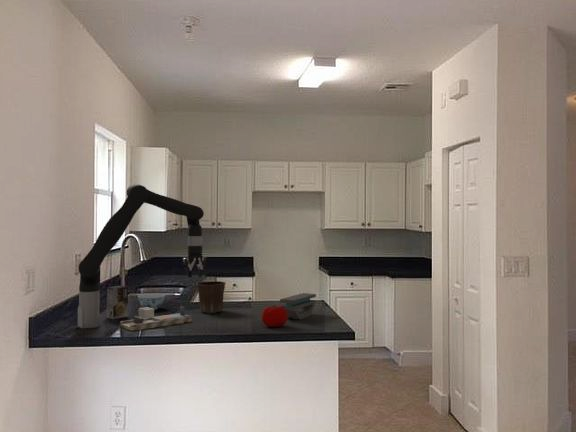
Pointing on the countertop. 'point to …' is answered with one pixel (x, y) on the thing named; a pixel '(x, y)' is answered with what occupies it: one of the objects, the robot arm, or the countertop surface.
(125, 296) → the coffee box
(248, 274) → the countertop surface
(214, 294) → the plant pot
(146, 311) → the link block
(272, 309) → the tomato
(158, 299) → the chinaware
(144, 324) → the rail base
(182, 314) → the carriage
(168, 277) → the countertop surface
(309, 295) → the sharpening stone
